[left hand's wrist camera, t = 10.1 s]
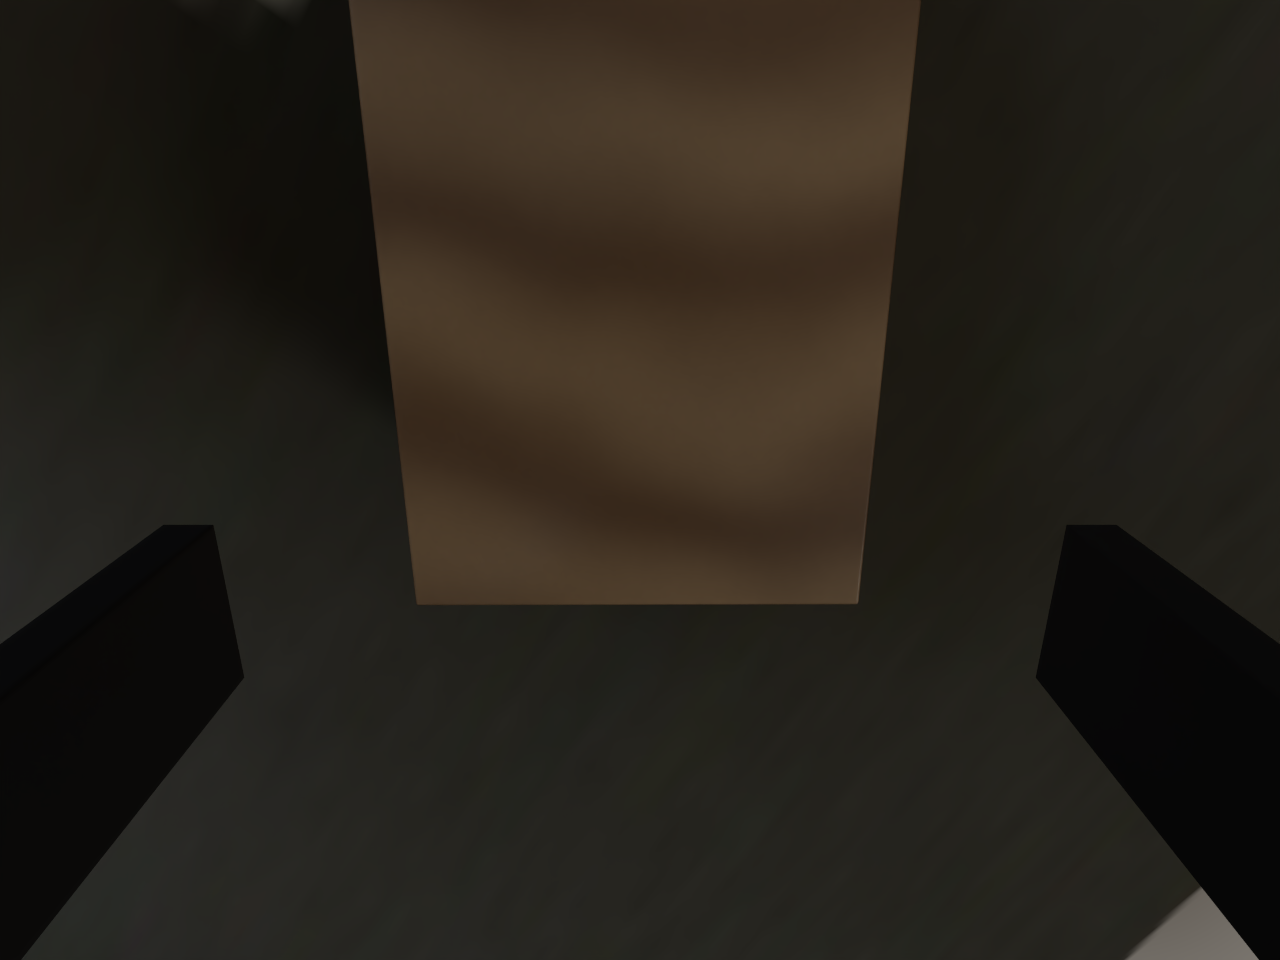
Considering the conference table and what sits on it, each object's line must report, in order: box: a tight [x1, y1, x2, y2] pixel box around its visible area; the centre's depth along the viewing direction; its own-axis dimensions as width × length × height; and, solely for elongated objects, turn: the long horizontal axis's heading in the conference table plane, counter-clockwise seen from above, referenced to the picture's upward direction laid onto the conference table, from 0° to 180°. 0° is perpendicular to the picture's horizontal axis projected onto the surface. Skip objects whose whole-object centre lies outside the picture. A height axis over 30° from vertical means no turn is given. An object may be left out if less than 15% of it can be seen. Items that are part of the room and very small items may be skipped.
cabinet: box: [349, 0, 921, 605], centre depth 21 cm, size 18×11×9 cm, turn 0°
